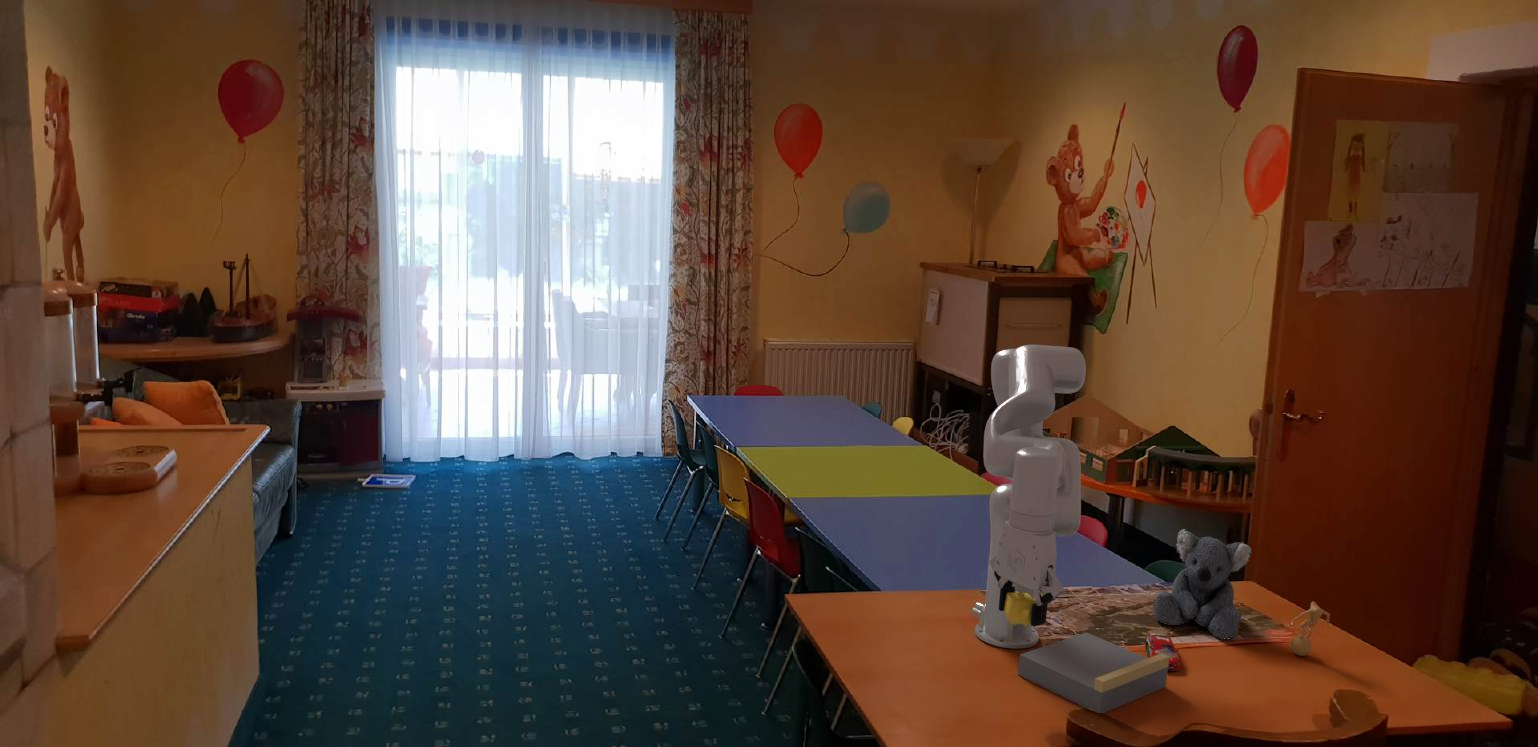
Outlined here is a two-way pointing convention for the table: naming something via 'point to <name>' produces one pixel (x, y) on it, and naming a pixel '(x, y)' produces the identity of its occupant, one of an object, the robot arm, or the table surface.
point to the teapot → (1018, 608)
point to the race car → (1163, 649)
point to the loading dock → (1094, 671)
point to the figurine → (1302, 643)
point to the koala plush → (1204, 585)
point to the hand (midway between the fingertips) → (1021, 615)
